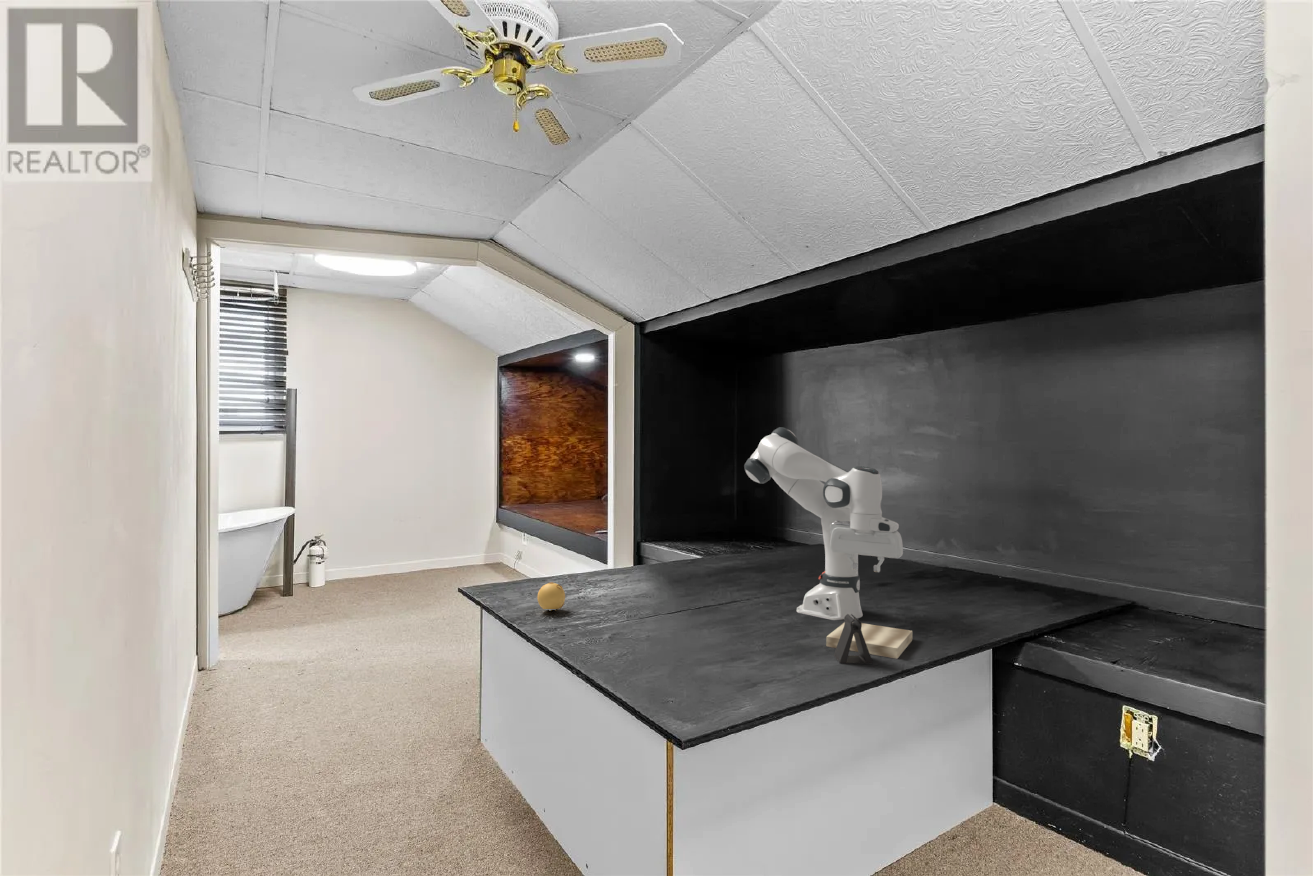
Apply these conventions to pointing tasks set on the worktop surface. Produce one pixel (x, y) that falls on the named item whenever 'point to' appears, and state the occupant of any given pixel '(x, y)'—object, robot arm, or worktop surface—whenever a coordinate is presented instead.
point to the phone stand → (845, 641)
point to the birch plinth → (876, 640)
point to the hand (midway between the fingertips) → (865, 570)
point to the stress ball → (551, 596)
